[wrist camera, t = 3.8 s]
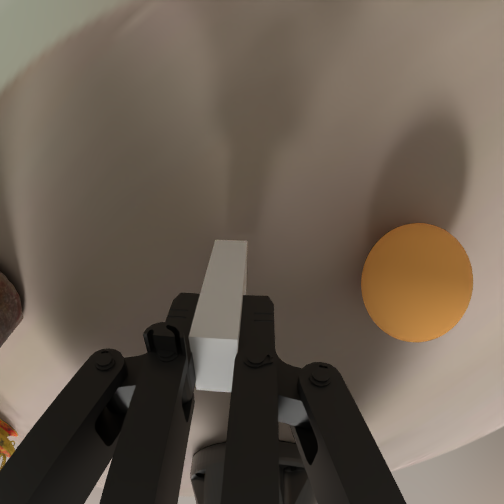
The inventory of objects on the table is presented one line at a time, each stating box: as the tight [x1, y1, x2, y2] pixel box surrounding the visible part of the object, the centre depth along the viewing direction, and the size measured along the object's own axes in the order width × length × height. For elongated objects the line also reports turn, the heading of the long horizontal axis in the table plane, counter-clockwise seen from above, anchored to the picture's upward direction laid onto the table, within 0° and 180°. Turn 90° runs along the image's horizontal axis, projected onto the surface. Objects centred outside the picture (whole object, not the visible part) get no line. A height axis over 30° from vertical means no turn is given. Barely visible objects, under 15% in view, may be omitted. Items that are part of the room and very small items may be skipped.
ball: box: [361, 223, 473, 342], centre depth 15 cm, size 6×6×6 cm
